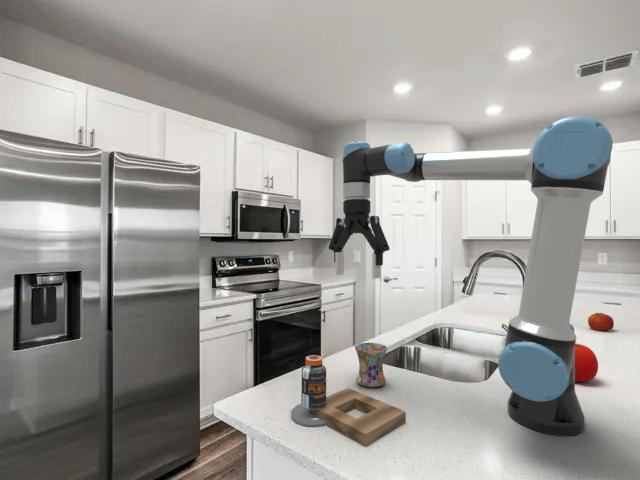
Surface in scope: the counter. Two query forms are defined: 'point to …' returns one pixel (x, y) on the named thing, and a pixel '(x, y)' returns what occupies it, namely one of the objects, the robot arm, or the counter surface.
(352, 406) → the socket block
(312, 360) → the pill bottle
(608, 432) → the counter surface
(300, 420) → the coaster
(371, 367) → the mug
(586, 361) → the tomato
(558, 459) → the counter surface
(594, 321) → the tomato
